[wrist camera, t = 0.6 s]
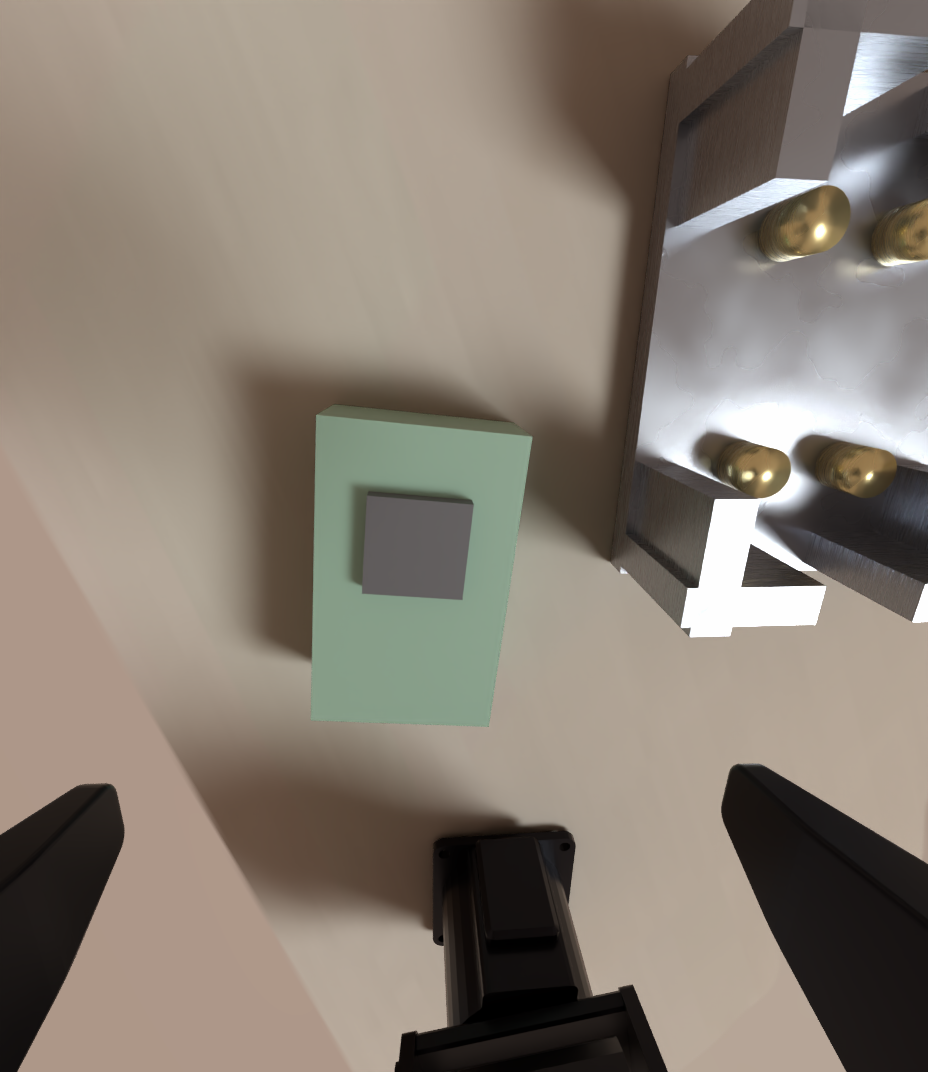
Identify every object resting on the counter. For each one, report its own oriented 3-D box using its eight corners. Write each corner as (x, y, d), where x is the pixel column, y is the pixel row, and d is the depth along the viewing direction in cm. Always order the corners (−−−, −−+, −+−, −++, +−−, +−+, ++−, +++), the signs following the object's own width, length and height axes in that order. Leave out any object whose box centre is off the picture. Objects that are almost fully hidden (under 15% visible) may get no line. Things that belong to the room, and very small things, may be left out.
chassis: (878, 559, 21) (1032, 627, 15) (610, 562, 20) (678, 637, 15) (1020, 98, 16) (1317, -27, 10) (670, 74, 15) (807, -77, 10)
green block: (477, 668, 21) (490, 736, 17) (328, 661, 20) (307, 730, 17) (511, 421, 18) (536, 439, 14) (335, 403, 17) (312, 417, 14)
